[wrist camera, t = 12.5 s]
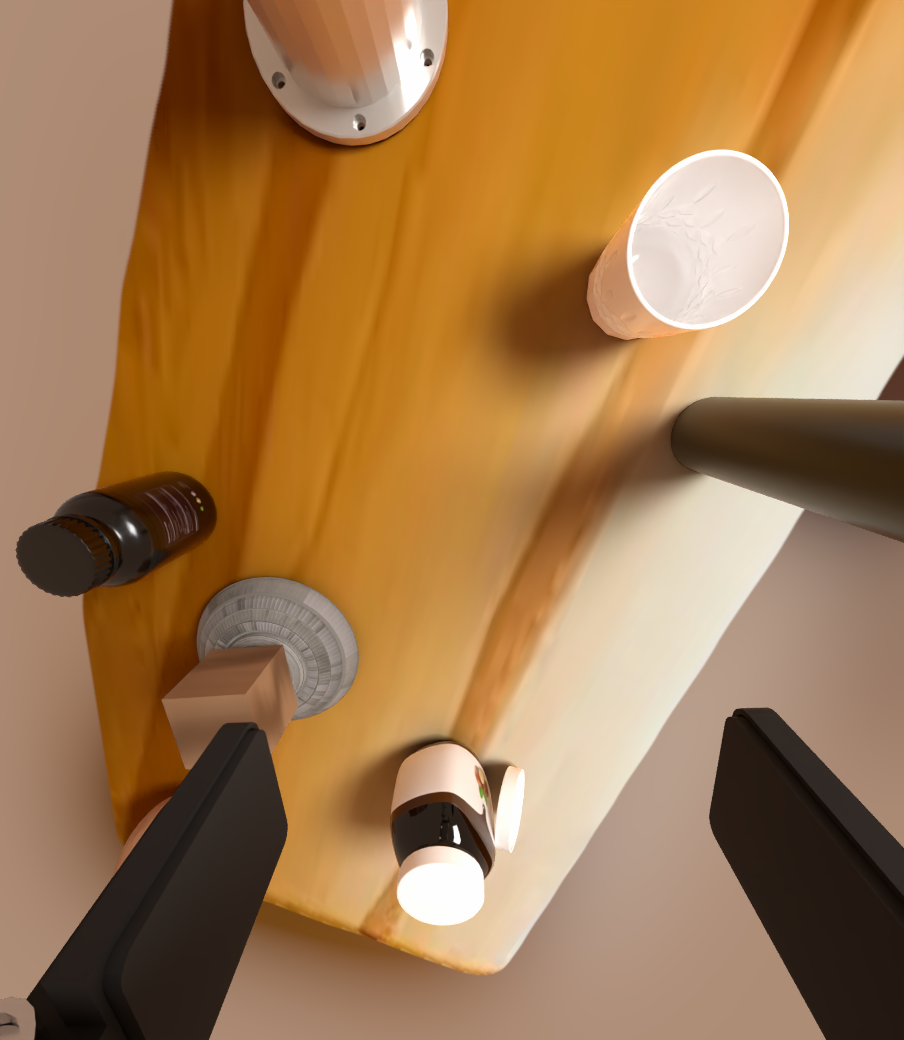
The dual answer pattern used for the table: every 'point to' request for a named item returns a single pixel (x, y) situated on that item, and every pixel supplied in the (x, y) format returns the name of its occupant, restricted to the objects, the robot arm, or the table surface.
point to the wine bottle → (804, 454)
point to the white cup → (692, 249)
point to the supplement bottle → (117, 534)
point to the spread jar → (449, 831)
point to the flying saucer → (286, 636)
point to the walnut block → (231, 697)
